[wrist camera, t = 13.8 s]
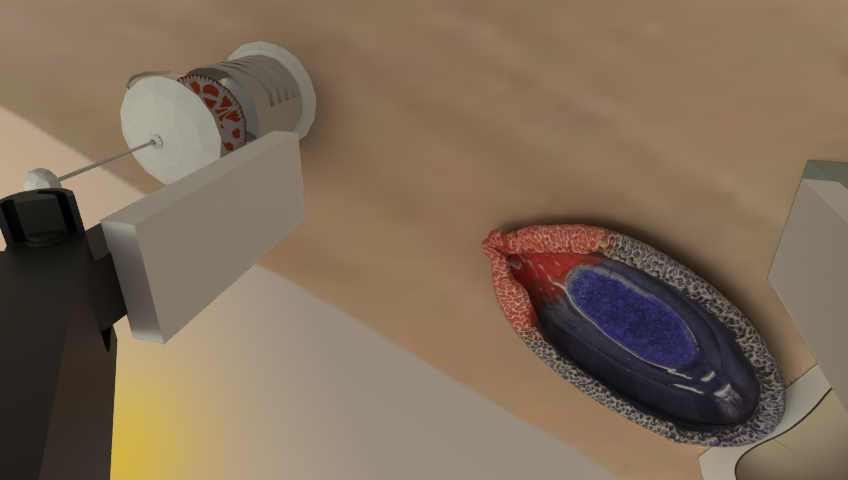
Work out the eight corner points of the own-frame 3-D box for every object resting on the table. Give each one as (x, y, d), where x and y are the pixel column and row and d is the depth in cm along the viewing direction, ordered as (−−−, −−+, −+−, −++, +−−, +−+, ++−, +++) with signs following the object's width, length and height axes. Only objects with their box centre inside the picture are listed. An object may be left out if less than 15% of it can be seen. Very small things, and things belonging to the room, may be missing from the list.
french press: (302, 164, 53) (104, 300, 31) (197, 114, 53) (-68, 213, 32) (328, 68, 48) (115, 149, 26) (212, 14, 48) (-89, 50, 27)
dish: (687, 447, 56) (695, 488, 51) (451, 266, 54) (439, 292, 49) (827, 364, 48) (851, 403, 43) (557, 148, 46) (554, 167, 41)
